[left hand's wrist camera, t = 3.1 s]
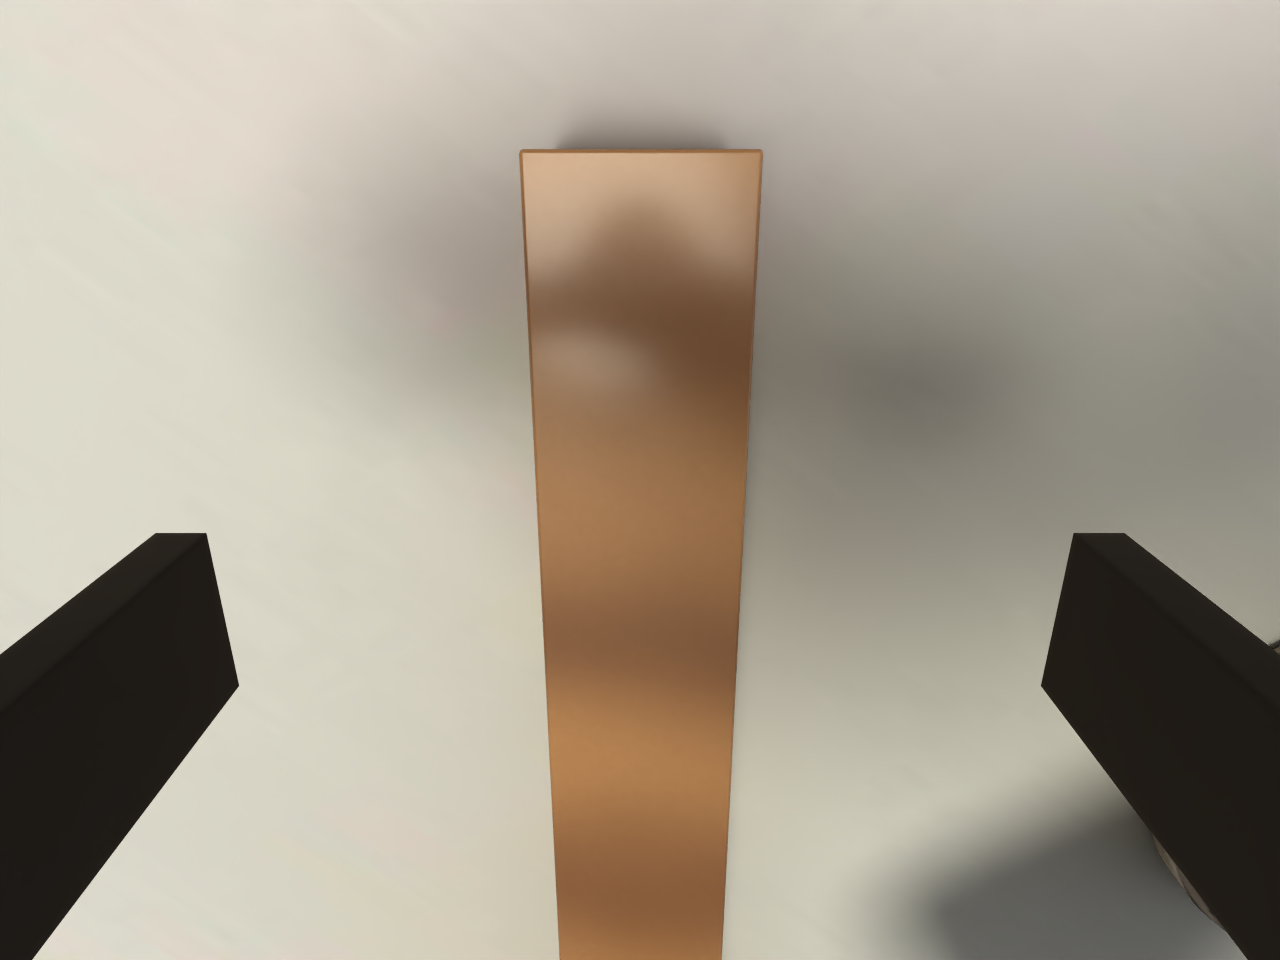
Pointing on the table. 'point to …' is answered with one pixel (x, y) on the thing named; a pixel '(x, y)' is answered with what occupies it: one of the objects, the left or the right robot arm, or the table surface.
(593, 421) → the post
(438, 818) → the table surface
